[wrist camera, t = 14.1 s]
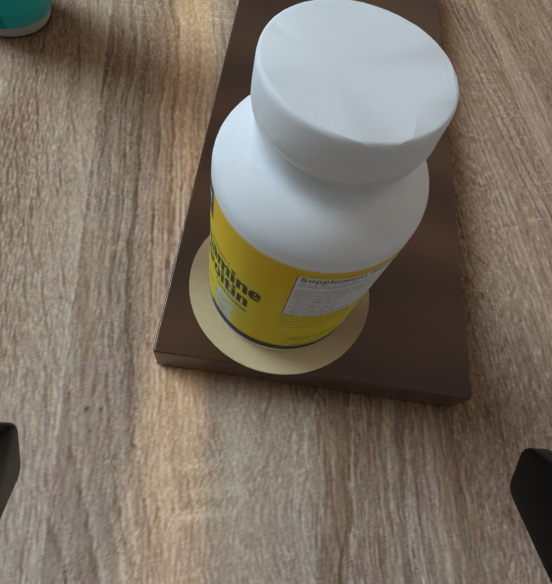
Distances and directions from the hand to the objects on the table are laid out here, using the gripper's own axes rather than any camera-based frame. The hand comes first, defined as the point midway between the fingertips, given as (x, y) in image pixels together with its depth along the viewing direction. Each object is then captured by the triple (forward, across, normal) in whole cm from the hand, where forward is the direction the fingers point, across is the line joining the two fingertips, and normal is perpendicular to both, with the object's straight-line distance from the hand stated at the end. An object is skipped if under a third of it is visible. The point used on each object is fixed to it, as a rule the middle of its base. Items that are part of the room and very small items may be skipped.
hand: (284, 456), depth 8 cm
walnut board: (+23, -4, -7) cm, 25 cm away
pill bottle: (+13, -1, +1) cm, 13 cm away
